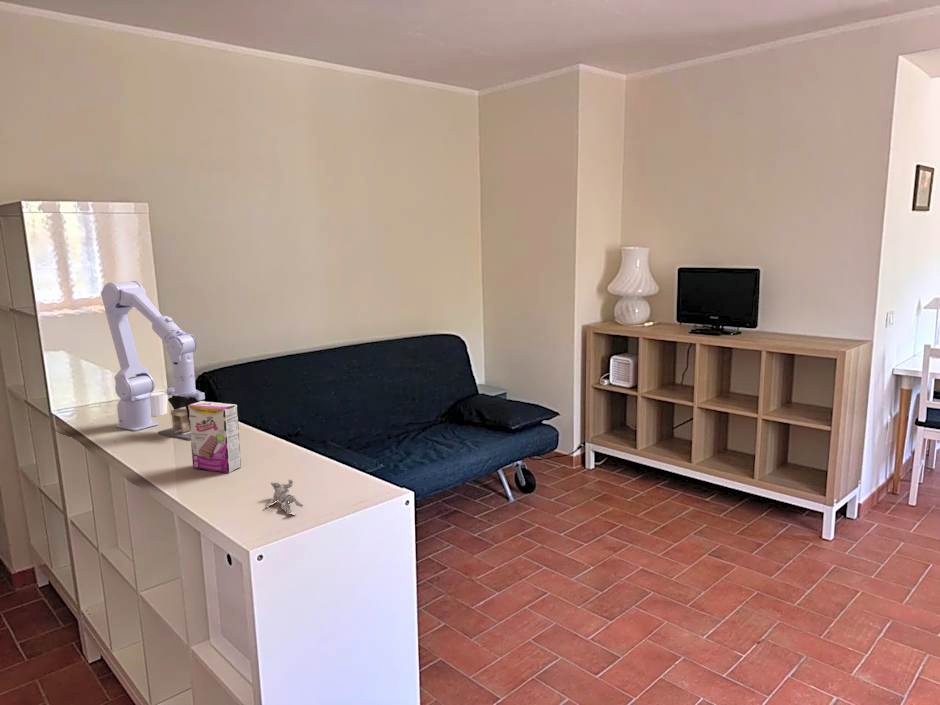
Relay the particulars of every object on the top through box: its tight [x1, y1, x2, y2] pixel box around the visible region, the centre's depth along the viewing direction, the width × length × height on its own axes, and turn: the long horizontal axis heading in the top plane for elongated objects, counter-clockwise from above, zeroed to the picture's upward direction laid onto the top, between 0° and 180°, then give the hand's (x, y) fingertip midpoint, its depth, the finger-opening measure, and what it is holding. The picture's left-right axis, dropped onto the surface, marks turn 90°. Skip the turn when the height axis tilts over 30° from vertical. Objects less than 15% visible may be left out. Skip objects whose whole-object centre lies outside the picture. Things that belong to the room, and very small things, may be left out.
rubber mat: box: [157, 427, 191, 441], centre depth 191 cm, size 14×10×1 cm
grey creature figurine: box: [264, 478, 304, 515], centre depth 137 cm, size 8×5×12 cm
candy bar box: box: [188, 400, 242, 474], centre depth 159 cm, size 11×5×16 cm, turn 71°
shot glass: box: [150, 391, 168, 417], centre depth 212 cm, size 7×7×7 cm
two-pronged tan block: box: [170, 407, 190, 432], centre depth 190 cm, size 4×6×6 cm
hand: (187, 421), depth 191 cm, fingers closed on two-pronged tan block, 4 cm apart
